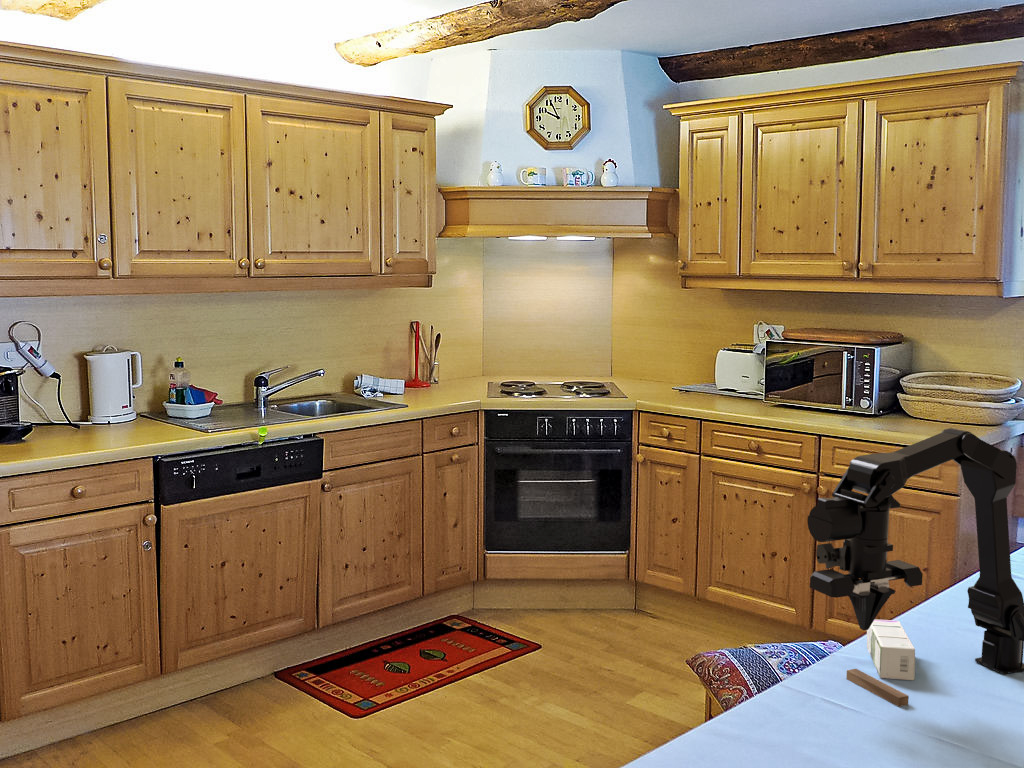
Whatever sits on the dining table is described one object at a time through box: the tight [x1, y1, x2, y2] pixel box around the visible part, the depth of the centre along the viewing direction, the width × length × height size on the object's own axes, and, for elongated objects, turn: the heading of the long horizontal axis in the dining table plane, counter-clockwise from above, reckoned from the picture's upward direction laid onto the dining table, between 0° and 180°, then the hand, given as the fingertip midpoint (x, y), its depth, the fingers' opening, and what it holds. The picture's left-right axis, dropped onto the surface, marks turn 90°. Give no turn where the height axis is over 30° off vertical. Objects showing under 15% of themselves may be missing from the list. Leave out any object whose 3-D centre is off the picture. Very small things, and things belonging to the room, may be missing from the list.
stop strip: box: [845, 668, 910, 708], centre depth 171 cm, size 2×12×2 cm, turn 23°
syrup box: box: [866, 618, 916, 681], centre depth 182 cm, size 6×6×14 cm
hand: (864, 629), depth 168 cm, fingers closed
